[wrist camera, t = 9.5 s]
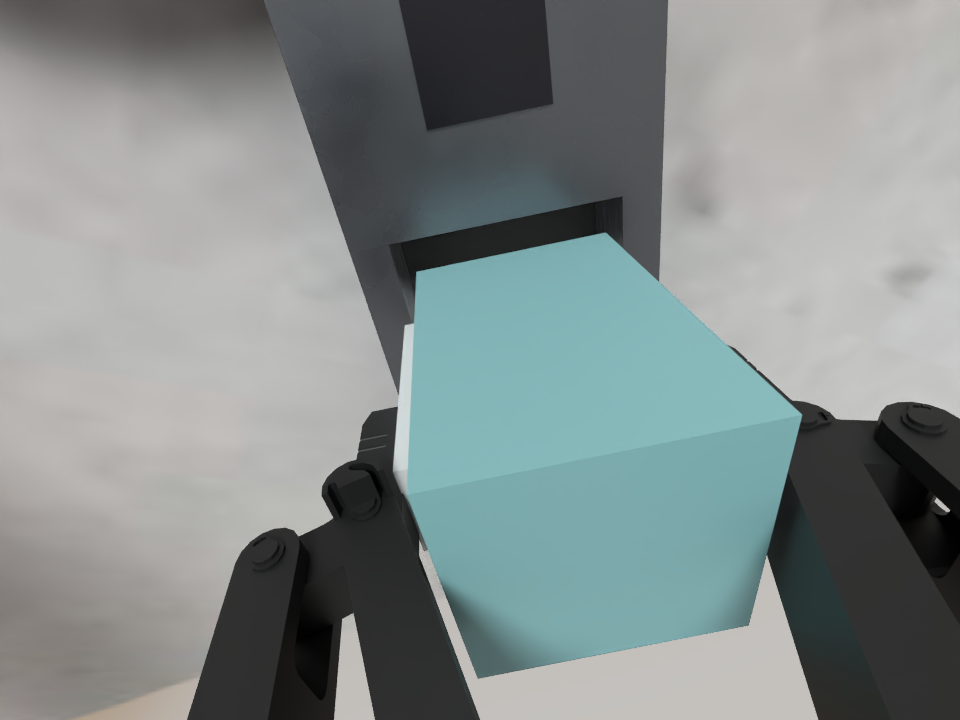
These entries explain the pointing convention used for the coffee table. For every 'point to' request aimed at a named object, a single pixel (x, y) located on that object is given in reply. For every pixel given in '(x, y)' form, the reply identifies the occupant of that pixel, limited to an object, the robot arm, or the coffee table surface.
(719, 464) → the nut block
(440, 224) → the grey flat slotted block
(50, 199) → the coffee table surface
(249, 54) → the coffee table surface
